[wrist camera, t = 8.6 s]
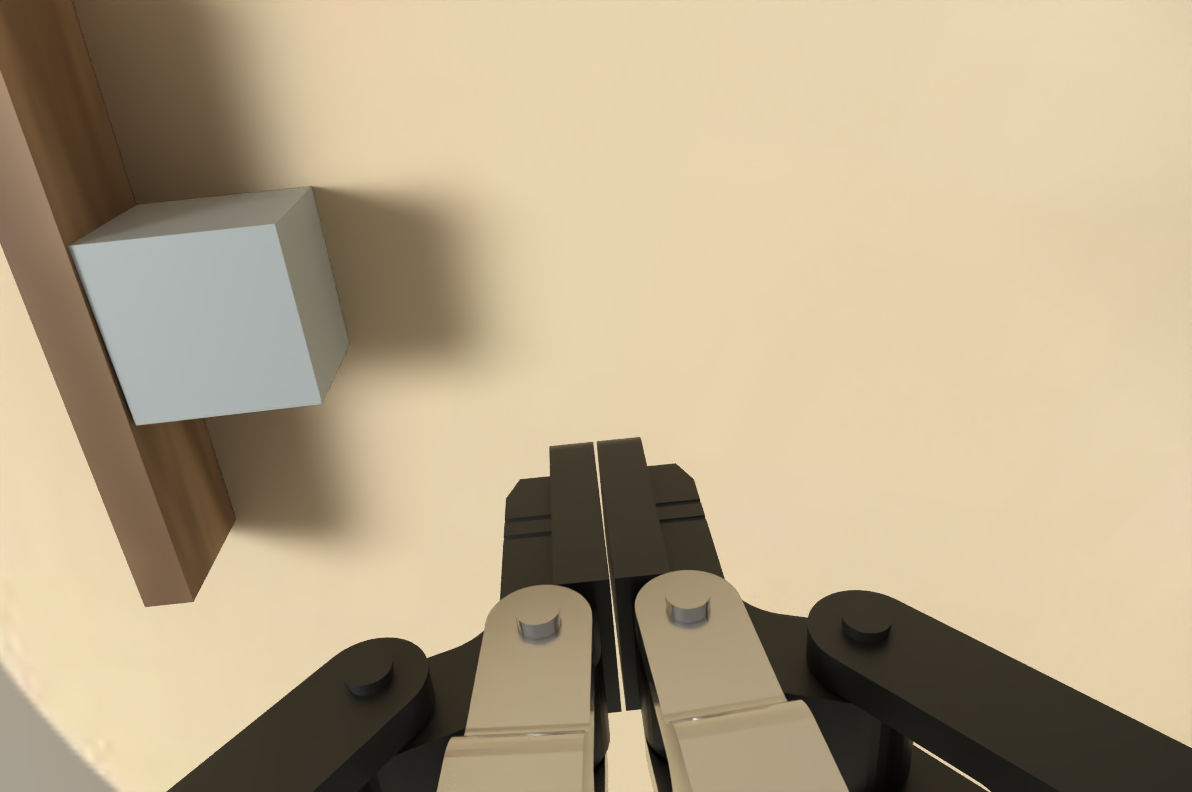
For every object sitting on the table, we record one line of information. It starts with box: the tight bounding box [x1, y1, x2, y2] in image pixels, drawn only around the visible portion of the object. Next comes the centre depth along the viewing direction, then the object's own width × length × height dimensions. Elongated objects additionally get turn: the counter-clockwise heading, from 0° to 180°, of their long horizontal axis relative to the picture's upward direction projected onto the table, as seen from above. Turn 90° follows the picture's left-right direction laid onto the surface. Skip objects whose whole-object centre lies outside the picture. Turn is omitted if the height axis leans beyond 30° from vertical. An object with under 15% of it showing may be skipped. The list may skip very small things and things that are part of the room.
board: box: [0, 0, 236, 607], centre depth 33 cm, size 2×24×6 cm, turn 4°
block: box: [68, 186, 349, 425], centre depth 33 cm, size 7×7×6 cm
